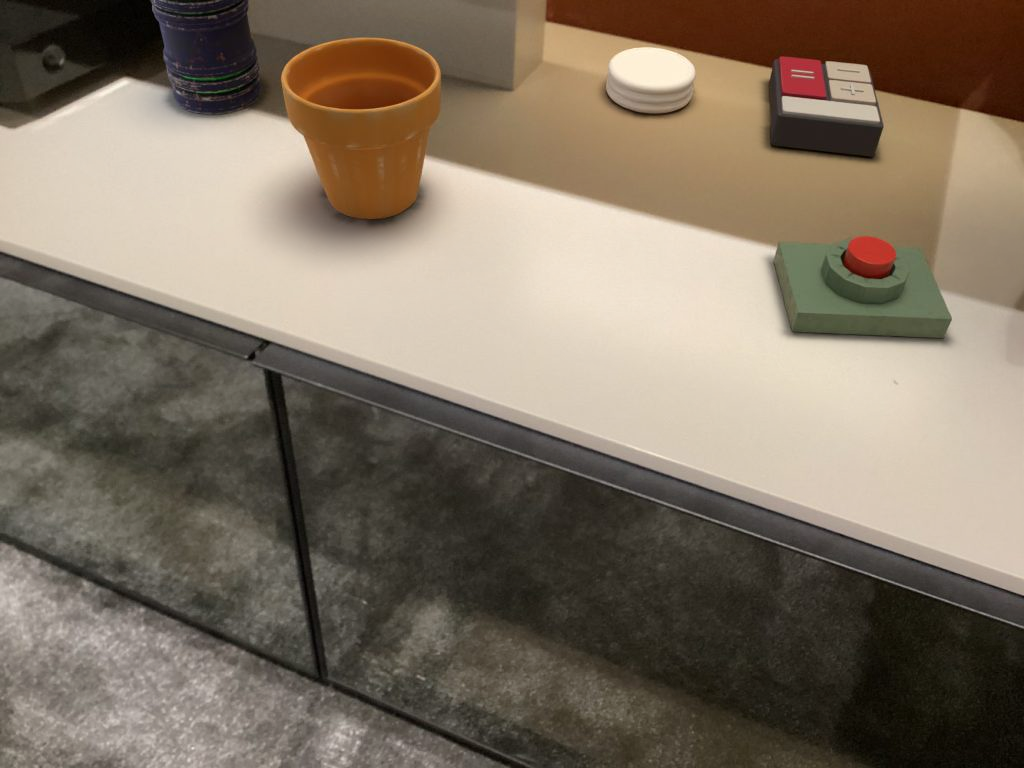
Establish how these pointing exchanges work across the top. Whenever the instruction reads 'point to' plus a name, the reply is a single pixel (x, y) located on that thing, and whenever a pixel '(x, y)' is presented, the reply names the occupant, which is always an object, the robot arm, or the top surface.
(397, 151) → the flower pot
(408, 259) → the top surface
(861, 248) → the red push button
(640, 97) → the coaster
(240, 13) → the storage jar
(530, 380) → the top surface
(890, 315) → the button box
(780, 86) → the calculator
